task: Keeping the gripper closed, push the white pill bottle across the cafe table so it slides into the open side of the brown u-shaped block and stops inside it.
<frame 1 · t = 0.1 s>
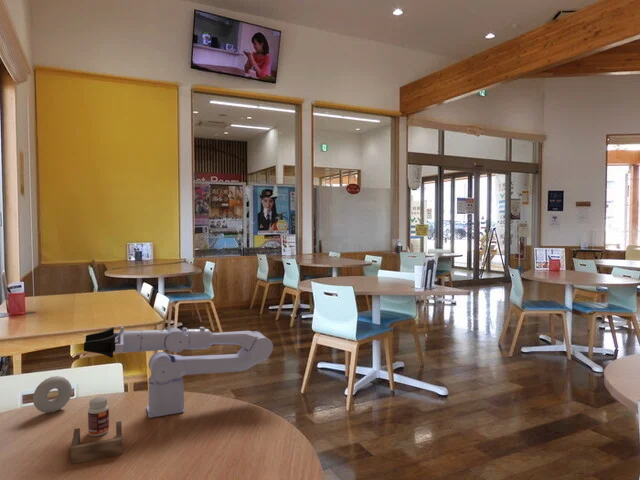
hand: (84, 342, 120), 22 cm above the table, tool horizontal, fingers open, 7 cm apart
brown u-shaped block: (97, 448, 107), on the table
donut: (53, 412, 128), on the table
pill bottle: (99, 433, 115), on the table
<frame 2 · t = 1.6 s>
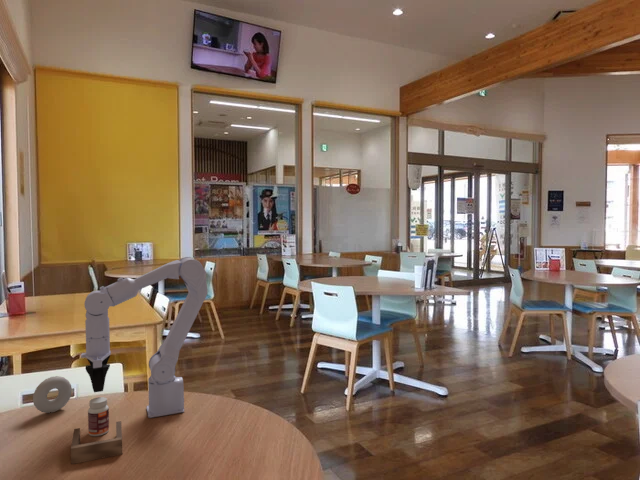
hand: (98, 386, 121), 9 cm above the table, tool pointing down, fingers open, 7 cm apart
nothing on the table moved.
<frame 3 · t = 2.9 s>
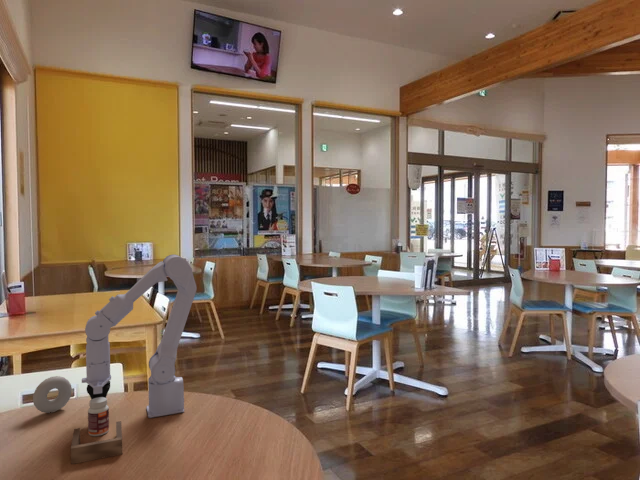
hand: (99, 411, 122), 3 cm above the table, tool pointing down, fingers closed
nothing on the table moved.
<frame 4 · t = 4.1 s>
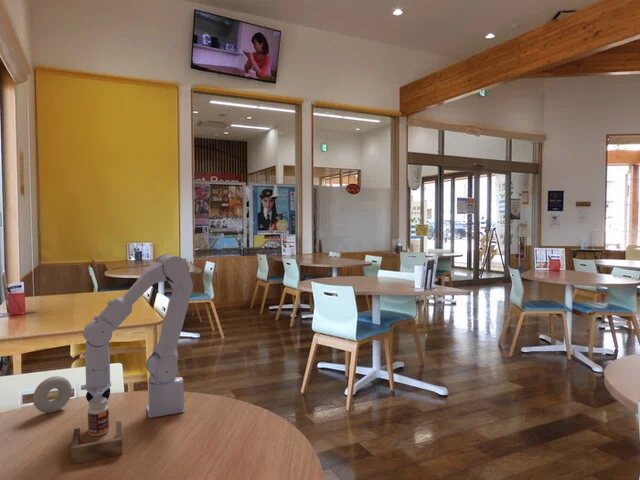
hand: (98, 418, 119), 2 cm above the table, tool pointing down, fingers closed
pill bottle: (99, 432, 115), on the table, touching gripper
everything else where it was.
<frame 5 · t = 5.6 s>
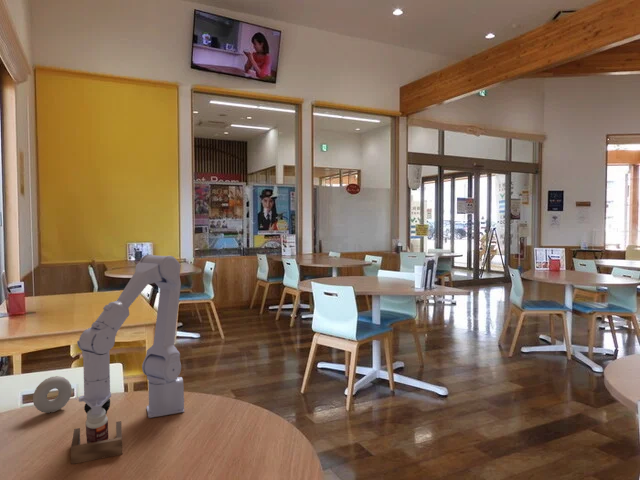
hand: (98, 432, 111), 2 cm above the table, tool pointing down, fingers closed, pressing on pill bottle
pill bottle: (98, 441, 109), point 1 cm above the table, touching gripper
everything else where it was.
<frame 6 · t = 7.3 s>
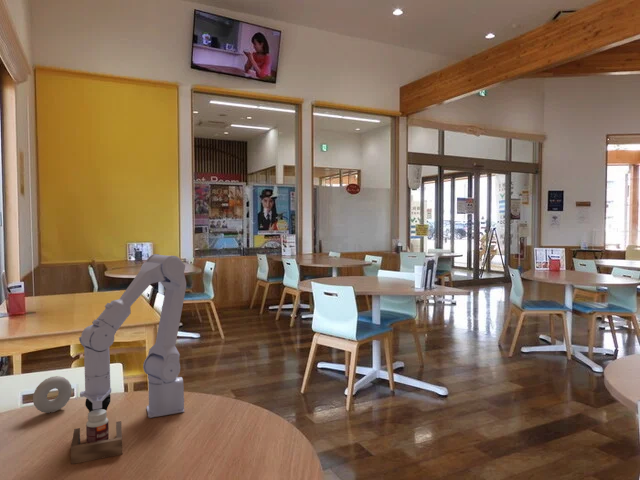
hand: (98, 426, 114), 2 cm above the table, tool pointing down, fingers closed
pill bottle: (98, 447, 108), on the table
everything else where it was.
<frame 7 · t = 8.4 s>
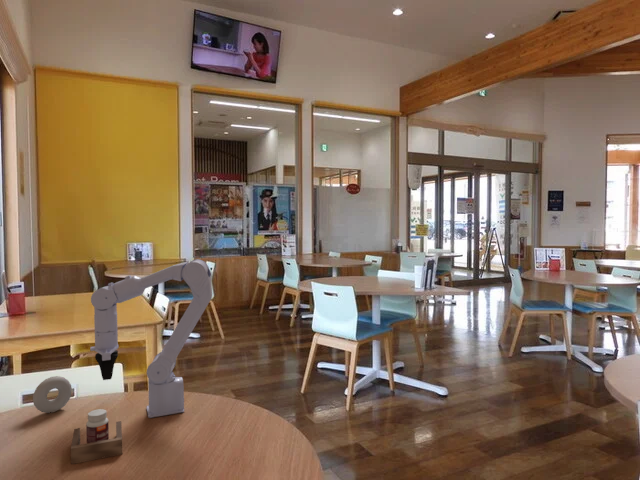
hand: (107, 378, 126), 10 cm above the table, tool pointing down, fingers closed
nothing on the table moved.
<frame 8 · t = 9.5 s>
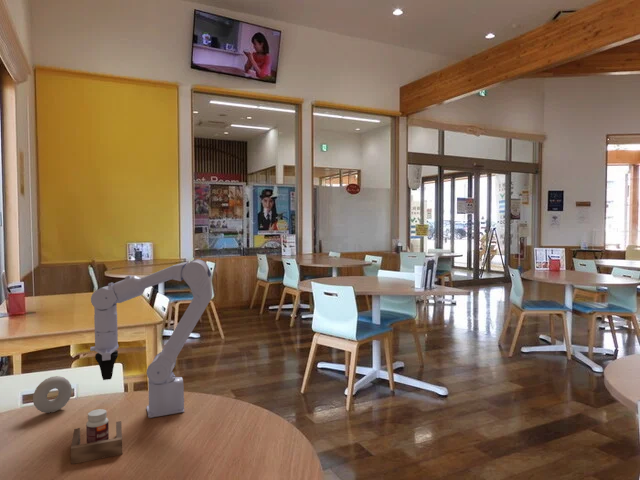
hand: (107, 378, 126), 10 cm above the table, tool pointing down, fingers closed
nothing on the table moved.
at the end: pill bottle inside the target area (1.2 cm from its centre), on the table; pill bottle tilted 0°; pill bottle moved 8.1 cm from its start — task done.
